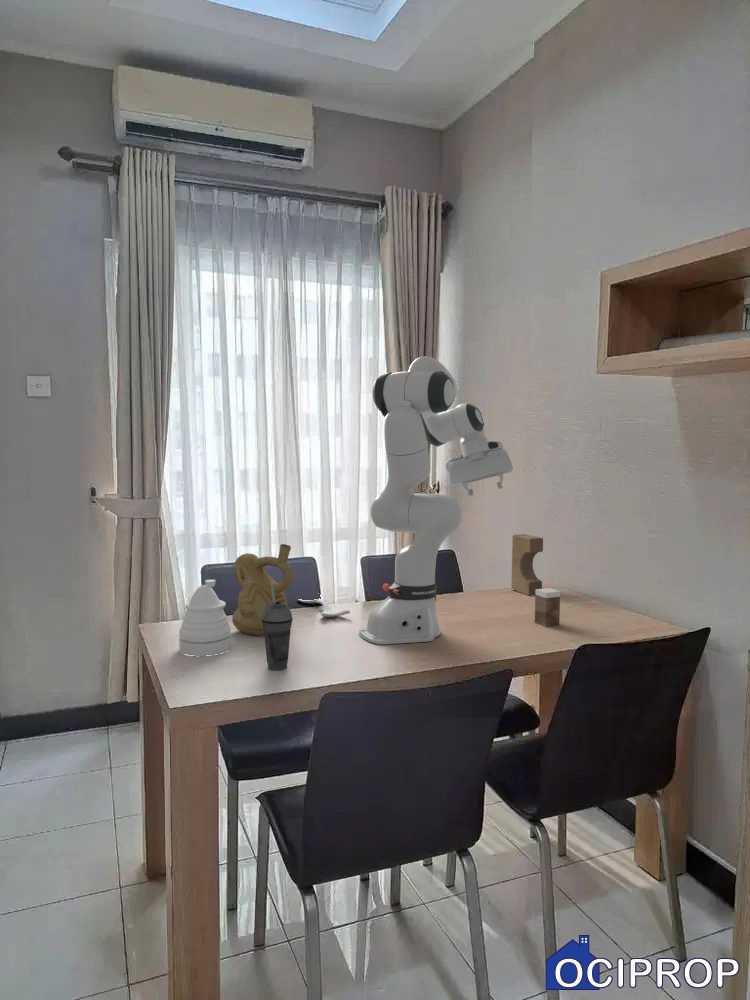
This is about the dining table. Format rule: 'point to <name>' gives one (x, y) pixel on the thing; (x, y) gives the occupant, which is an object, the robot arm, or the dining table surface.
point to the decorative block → (525, 563)
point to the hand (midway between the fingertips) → (485, 491)
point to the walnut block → (547, 607)
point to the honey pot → (205, 624)
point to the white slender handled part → (325, 607)
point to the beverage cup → (277, 633)
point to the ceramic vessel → (259, 588)
